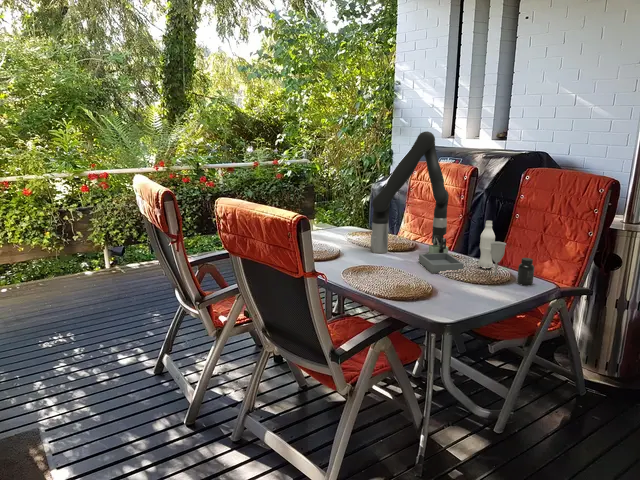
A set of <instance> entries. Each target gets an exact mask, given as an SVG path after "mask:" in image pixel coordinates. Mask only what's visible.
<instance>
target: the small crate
mask: <svg viewBox="0 0 640 480" xmlns="http://www.w3.org/2000/svg"><path fill="white" fill-rule="evenodd" d="M439 249H440V248H439V246H438V245H433V244H428V253H427V254H432V253H439ZM444 253H449V247H448V246H447V245H446V249H444Z"/></svg>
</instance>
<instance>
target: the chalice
mask: <svg viewBox="0 0 640 480" xmlns="http://www.w3.org/2000/svg"><path fill="white" fill-rule="evenodd" d="M490 244H491V252H490V253H491V256H492V262H494V263H495V264H494V268H493V270H494V271H493V272H494V273H492V274H491V275H494V276H495V275H496V276H497V274H498V267H499V265H498V263H500V262H501V260H502V259H503V257H504V256H505V250H506V246H507V243H506V242H502V241H495V242H490Z"/></svg>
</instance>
